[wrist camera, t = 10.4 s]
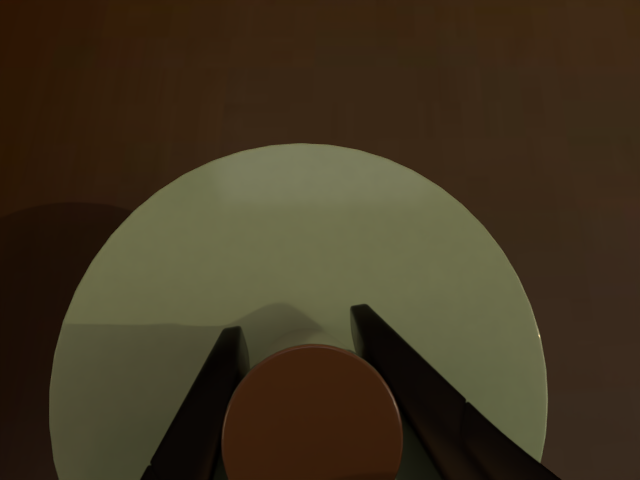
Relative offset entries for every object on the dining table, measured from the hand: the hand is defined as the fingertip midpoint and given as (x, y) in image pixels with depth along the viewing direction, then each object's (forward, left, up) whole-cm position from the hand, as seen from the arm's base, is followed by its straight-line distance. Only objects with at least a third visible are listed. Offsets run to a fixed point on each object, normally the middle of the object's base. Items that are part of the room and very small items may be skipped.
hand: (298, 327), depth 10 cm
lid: (-1, +1, -2) cm, 2 cm away
